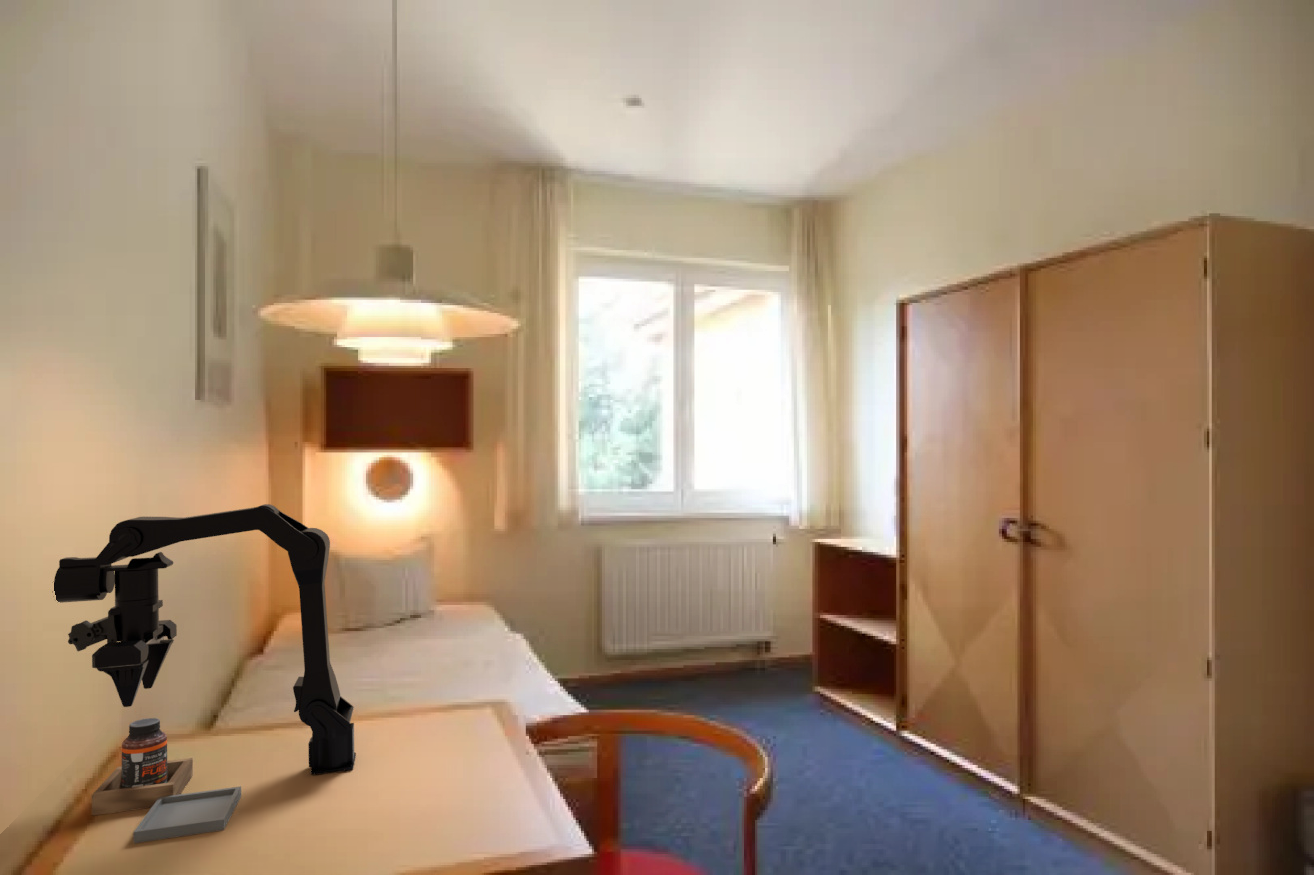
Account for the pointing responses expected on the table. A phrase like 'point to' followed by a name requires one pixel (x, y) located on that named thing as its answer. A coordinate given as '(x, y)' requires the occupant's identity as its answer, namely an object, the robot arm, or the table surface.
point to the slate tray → (188, 814)
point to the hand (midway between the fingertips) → (138, 697)
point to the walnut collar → (140, 789)
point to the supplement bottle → (144, 754)
